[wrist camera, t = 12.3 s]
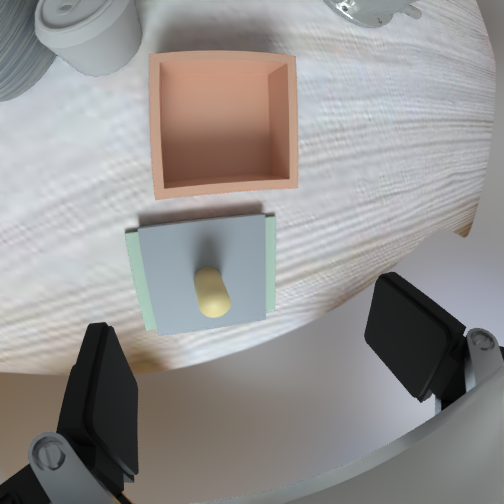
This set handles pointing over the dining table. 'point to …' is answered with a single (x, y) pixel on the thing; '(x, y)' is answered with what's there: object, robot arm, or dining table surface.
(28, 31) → the vase
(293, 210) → the dining table surface
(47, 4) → the can
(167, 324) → the lid
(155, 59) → the salmon open box
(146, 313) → the mat
